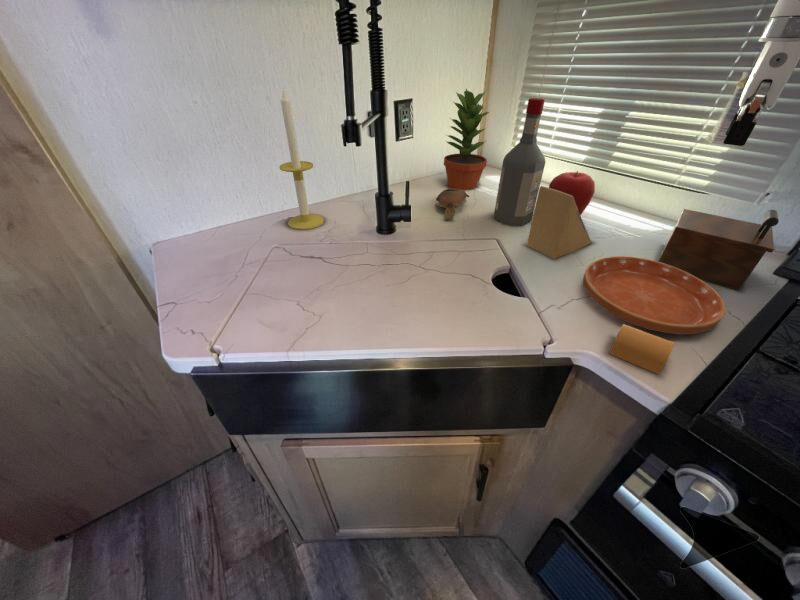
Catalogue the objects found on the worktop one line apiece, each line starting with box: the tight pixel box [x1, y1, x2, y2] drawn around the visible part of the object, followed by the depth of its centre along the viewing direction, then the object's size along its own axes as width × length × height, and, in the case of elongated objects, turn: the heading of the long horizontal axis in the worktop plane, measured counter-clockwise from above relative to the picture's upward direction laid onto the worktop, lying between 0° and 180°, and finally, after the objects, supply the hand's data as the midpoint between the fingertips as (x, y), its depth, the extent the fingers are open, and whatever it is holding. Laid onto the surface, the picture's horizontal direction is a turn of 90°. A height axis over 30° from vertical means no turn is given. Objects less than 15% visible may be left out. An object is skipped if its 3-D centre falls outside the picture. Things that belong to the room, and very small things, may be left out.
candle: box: [278, 87, 325, 230], centre depth 89 cm, size 10×10×32 cm
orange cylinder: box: [608, 323, 675, 375], centre depth 55 cm, size 7×4×4 cm, turn 51°
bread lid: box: [674, 208, 780, 254], centre depth 72 cm, size 16×13×5 cm
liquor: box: [493, 97, 546, 227], centre depth 91 cm, size 9×9×30 cm
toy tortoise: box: [435, 187, 470, 221], centre depth 105 cm, size 20×5×10 cm
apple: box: [548, 170, 596, 216], centre depth 97 cm, size 12×12×13 cm
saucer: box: [582, 255, 727, 335], centre depth 67 cm, size 23×23×4 cm
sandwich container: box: [526, 185, 593, 259], centre depth 83 cm, size 9×15×15 cm, turn 123°
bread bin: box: [657, 214, 767, 291], centre depth 76 cm, size 15×13×9 cm
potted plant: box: [443, 87, 490, 191], centre depth 115 cm, size 15×15×30 cm
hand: (733, 140), depth 69 cm, fingers open, 9 cm apart
